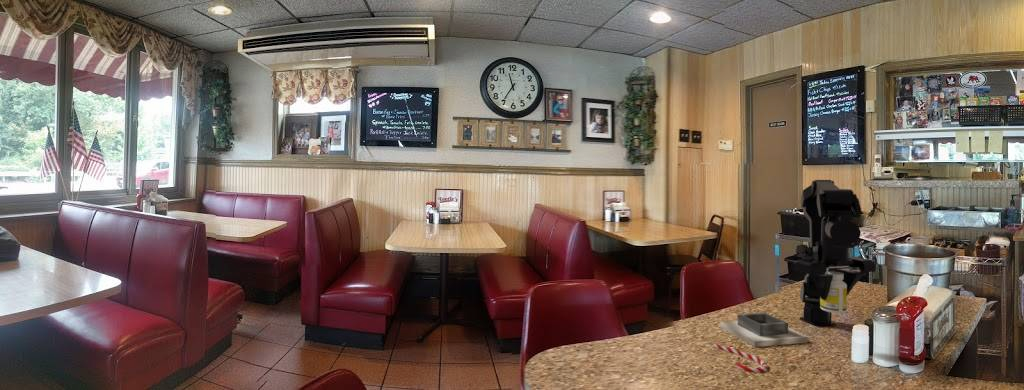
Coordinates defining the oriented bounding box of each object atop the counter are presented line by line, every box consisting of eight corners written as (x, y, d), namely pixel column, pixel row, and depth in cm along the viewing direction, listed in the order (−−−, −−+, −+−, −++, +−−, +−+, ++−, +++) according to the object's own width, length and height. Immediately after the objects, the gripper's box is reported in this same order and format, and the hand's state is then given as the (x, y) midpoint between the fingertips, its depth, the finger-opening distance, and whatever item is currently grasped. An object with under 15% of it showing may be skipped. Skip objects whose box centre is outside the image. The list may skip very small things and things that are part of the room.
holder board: (768, 323, 125) (768, 308, 125) (808, 342, 112) (808, 325, 111) (719, 327, 123) (720, 312, 123) (754, 347, 109) (755, 330, 109)
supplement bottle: (837, 307, 110) (838, 270, 109) (851, 314, 105) (852, 275, 104) (815, 306, 110) (816, 270, 110) (828, 313, 105) (829, 275, 105)
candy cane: (722, 341, 111) (777, 365, 97) (722, 346, 111) (777, 370, 97) (700, 346, 108) (753, 371, 94) (700, 351, 108) (753, 377, 94)
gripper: (837, 232, 116) (835, 288, 117) (777, 235, 113) (776, 291, 114) (878, 238, 105) (876, 300, 106) (813, 241, 102) (811, 304, 103)
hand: (833, 298), depth 107 cm, fingers closed on supplement bottle, 5 cm apart
